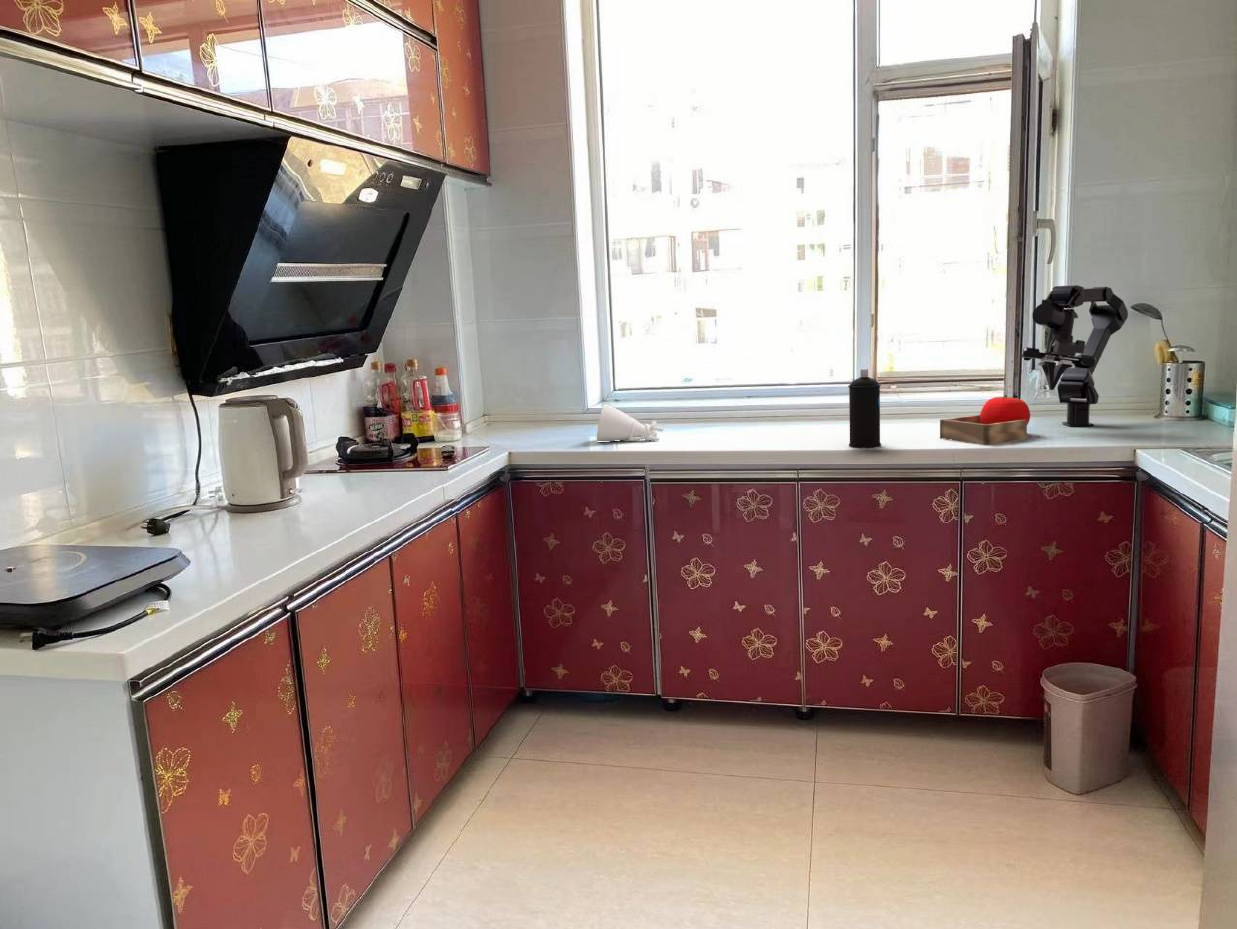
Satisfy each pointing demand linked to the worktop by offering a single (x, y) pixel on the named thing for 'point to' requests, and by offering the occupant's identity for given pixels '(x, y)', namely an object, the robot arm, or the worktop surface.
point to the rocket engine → (623, 427)
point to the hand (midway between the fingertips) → (1051, 389)
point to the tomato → (1004, 410)
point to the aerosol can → (864, 411)
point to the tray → (982, 430)
